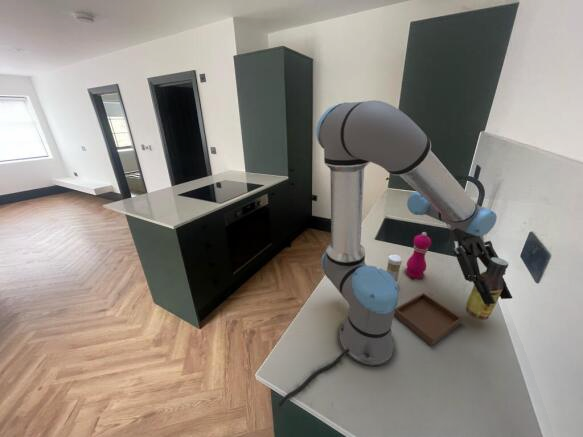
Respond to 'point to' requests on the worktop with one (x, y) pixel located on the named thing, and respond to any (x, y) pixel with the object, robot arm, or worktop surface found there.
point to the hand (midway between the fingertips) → (498, 300)
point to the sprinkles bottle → (394, 266)
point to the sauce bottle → (495, 285)
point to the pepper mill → (418, 256)
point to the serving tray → (427, 318)
